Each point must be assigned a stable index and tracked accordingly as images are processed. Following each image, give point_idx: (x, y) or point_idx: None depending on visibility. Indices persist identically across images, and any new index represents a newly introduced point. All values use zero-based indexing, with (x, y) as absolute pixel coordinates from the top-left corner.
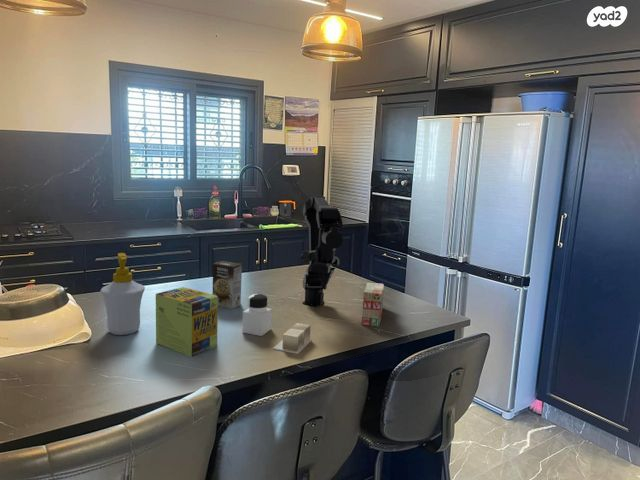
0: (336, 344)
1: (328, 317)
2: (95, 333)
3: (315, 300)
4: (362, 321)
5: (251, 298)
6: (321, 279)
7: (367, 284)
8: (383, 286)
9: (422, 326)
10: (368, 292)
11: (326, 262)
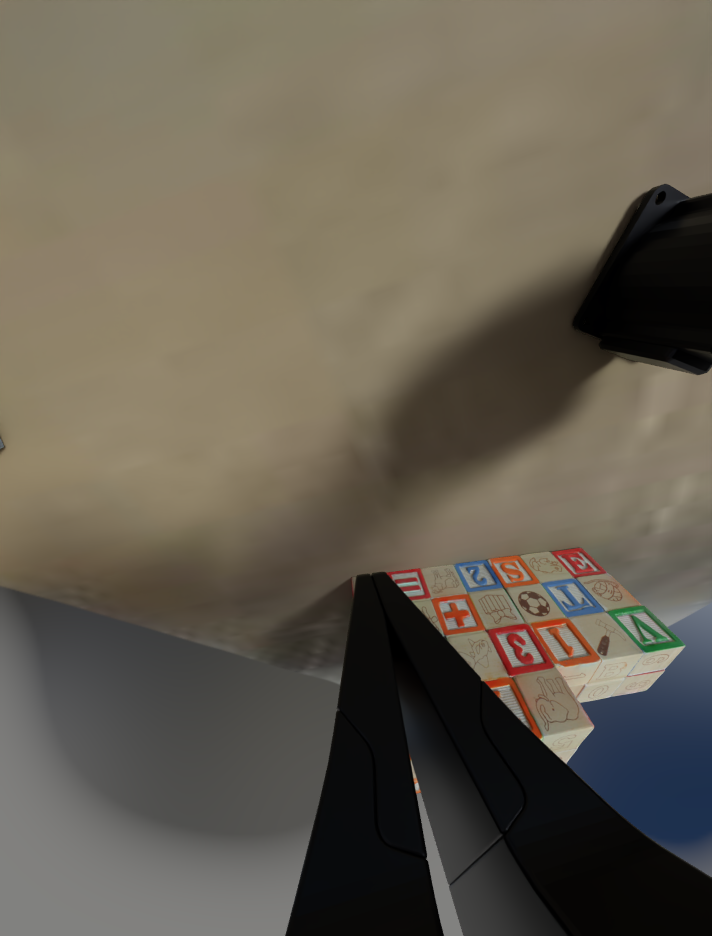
0: (66, 558)
1: (397, 442)
2: None
3: (630, 313)
4: (353, 591)
5: None
6: (336, 724)
7: (546, 738)
8: (625, 693)
9: None
10: None
11: None
